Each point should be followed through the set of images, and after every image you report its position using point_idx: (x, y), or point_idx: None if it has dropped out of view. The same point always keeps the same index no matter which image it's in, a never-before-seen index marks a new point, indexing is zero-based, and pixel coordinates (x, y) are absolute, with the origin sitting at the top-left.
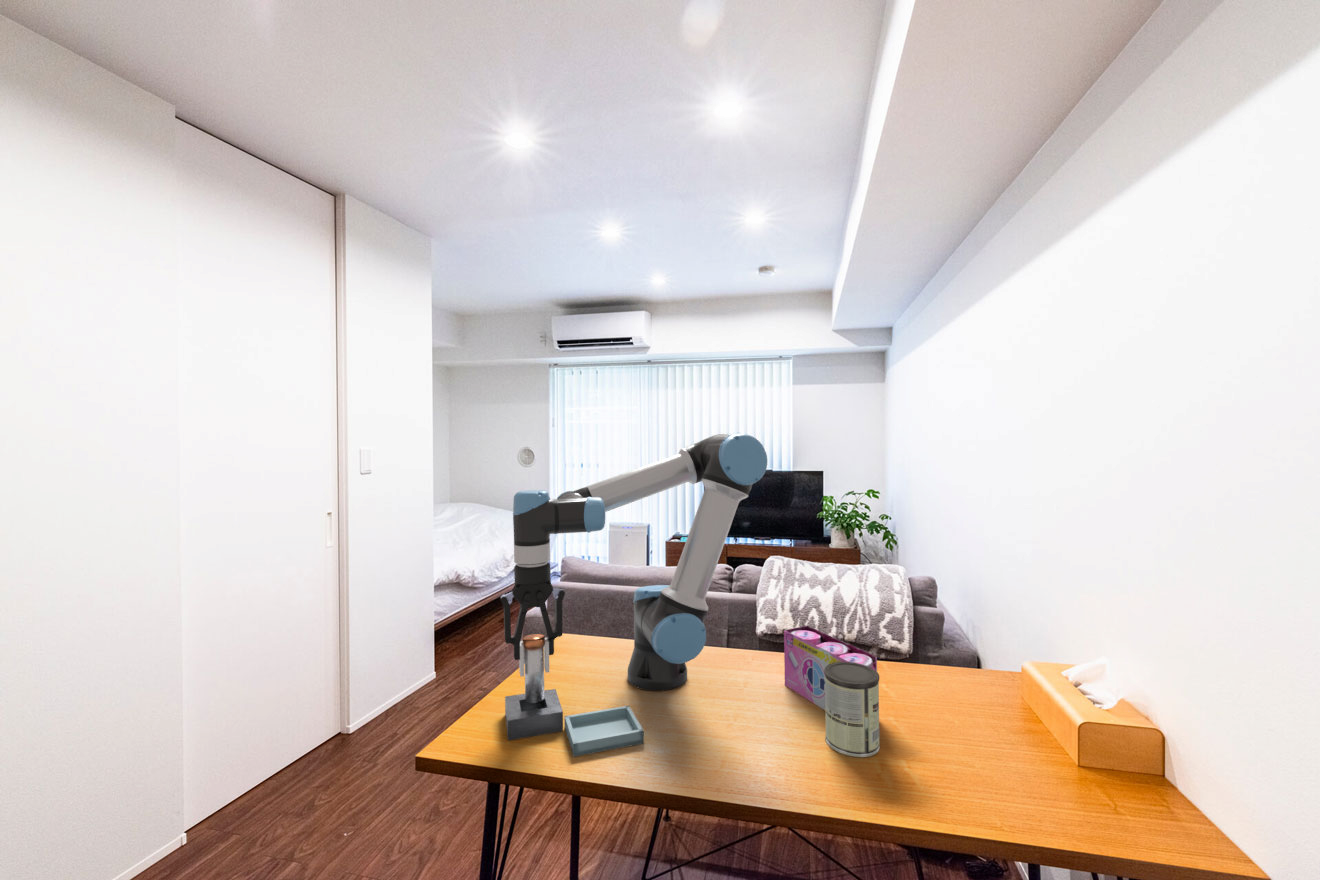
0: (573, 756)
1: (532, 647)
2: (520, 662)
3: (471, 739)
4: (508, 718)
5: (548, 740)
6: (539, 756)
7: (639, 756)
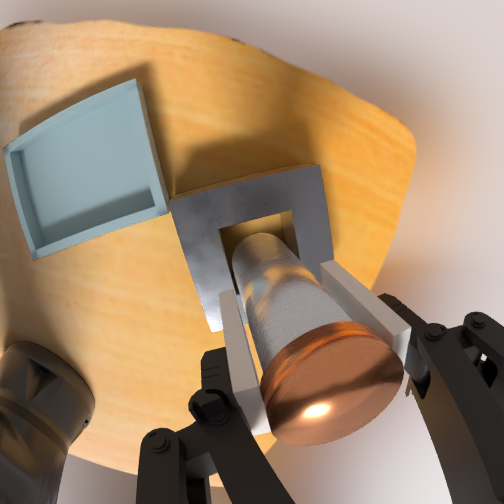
0: (142, 86)
1: (340, 327)
2: (360, 284)
3: (372, 182)
4: (320, 176)
5: (205, 154)
6: (219, 90)
7: (27, 103)
